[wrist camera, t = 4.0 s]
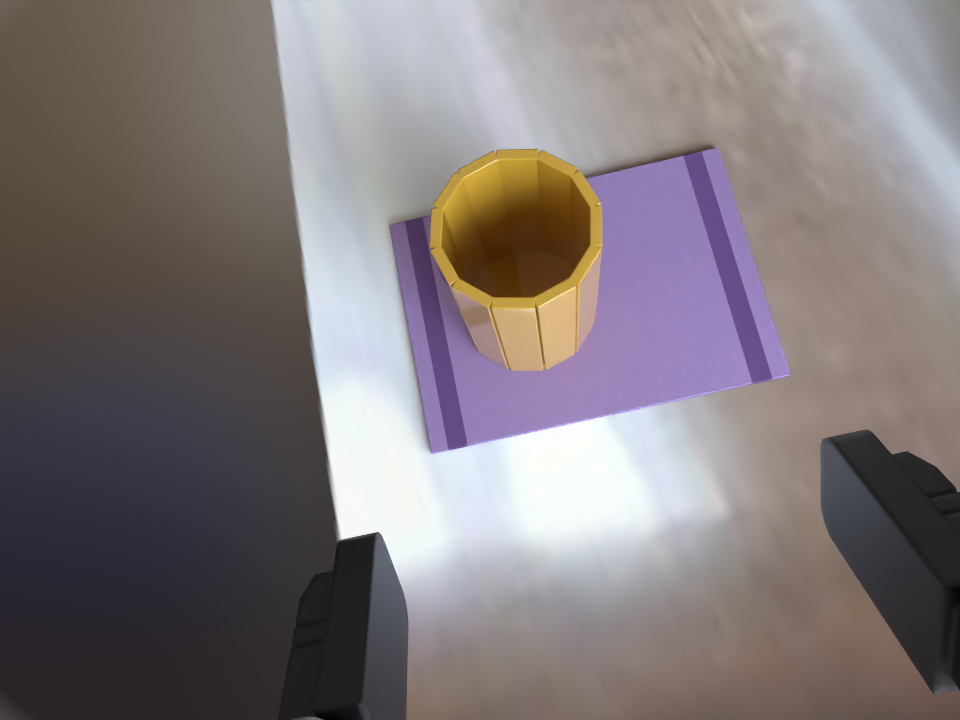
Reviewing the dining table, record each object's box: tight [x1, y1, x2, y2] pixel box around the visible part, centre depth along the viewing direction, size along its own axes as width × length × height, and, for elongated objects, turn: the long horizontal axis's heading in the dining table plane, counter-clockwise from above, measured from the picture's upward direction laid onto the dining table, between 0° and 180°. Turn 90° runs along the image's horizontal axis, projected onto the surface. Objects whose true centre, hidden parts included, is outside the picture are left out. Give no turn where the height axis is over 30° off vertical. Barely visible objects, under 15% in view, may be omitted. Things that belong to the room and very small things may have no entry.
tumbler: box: [429, 149, 602, 371], centre depth 34 cm, size 6×6×10 cm
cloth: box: [389, 148, 790, 454], centre depth 38 cm, size 17×12×1 cm
